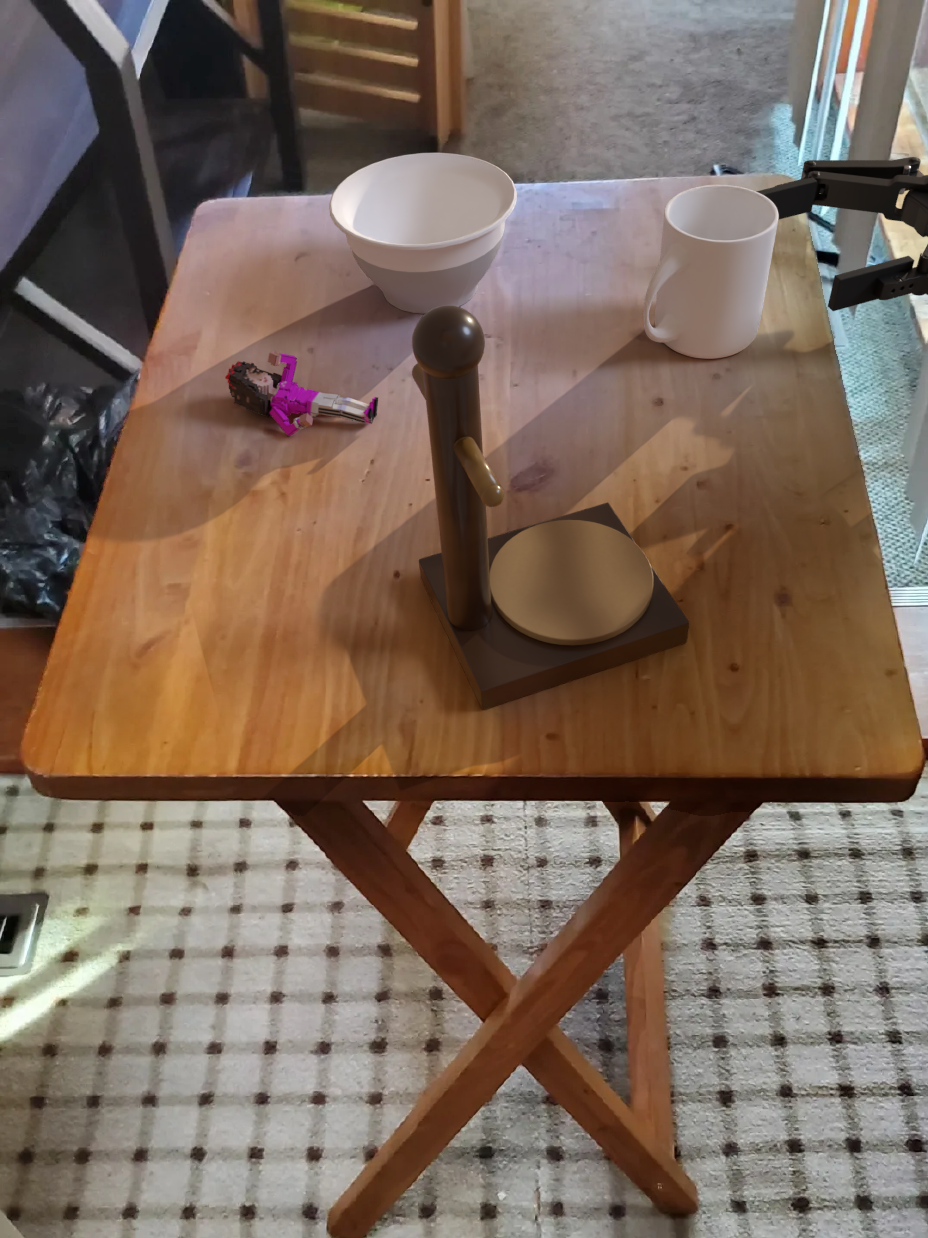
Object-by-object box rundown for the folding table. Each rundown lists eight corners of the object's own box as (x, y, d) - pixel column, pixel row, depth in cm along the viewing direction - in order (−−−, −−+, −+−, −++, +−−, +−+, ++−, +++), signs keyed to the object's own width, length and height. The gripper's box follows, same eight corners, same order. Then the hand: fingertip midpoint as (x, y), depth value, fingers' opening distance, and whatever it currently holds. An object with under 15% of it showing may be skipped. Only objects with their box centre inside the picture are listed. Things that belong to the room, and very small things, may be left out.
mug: (602, 346, 90) (608, 227, 82) (703, 291, 94) (718, 173, 86) (677, 393, 85) (690, 272, 77) (779, 333, 90) (803, 212, 82)
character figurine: (383, 409, 88) (241, 382, 89) (382, 359, 84) (234, 331, 85) (364, 456, 84) (217, 428, 85) (363, 406, 80) (209, 377, 81)
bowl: (384, 229, 104) (374, 142, 98) (541, 252, 100) (541, 163, 94) (313, 321, 95) (296, 231, 88) (483, 351, 90) (479, 259, 84)
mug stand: (606, 521, 76) (626, 196, 58) (687, 644, 69) (740, 314, 50) (415, 579, 74) (373, 258, 55) (478, 713, 66) (453, 392, 48)
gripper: (1097, 308, 86) (865, 375, 82) (909, 170, 101) (706, 221, 97) (1136, 220, 80) (889, 287, 76) (931, 89, 96) (717, 139, 92)
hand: (786, 250), depth 87 cm, fingers open, 13 cm apart
